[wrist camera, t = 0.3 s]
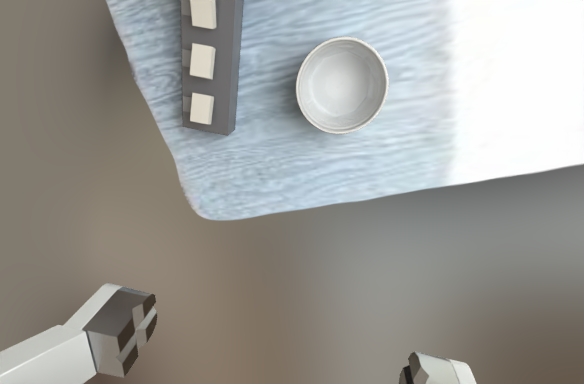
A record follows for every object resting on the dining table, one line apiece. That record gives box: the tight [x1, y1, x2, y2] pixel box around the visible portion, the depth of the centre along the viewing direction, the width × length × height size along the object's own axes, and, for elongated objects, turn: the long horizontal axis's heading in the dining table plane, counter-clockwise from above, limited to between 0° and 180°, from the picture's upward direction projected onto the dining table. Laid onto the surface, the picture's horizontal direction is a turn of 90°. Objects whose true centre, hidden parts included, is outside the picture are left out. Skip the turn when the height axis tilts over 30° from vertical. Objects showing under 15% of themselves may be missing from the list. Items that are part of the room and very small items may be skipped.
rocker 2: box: [190, 43, 216, 80], centre depth 44 cm, size 4×3×1 cm
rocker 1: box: [190, 0, 216, 29], centre depth 41 cm, size 4×3×1 cm
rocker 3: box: [190, 93, 214, 124], centre depth 47 cm, size 4×3×1 cm
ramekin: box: [296, 36, 389, 134], centre depth 45 cm, size 13×13×7 cm
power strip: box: [181, 0, 244, 135], centre depth 46 cm, size 27×8×5 cm, turn 171°
